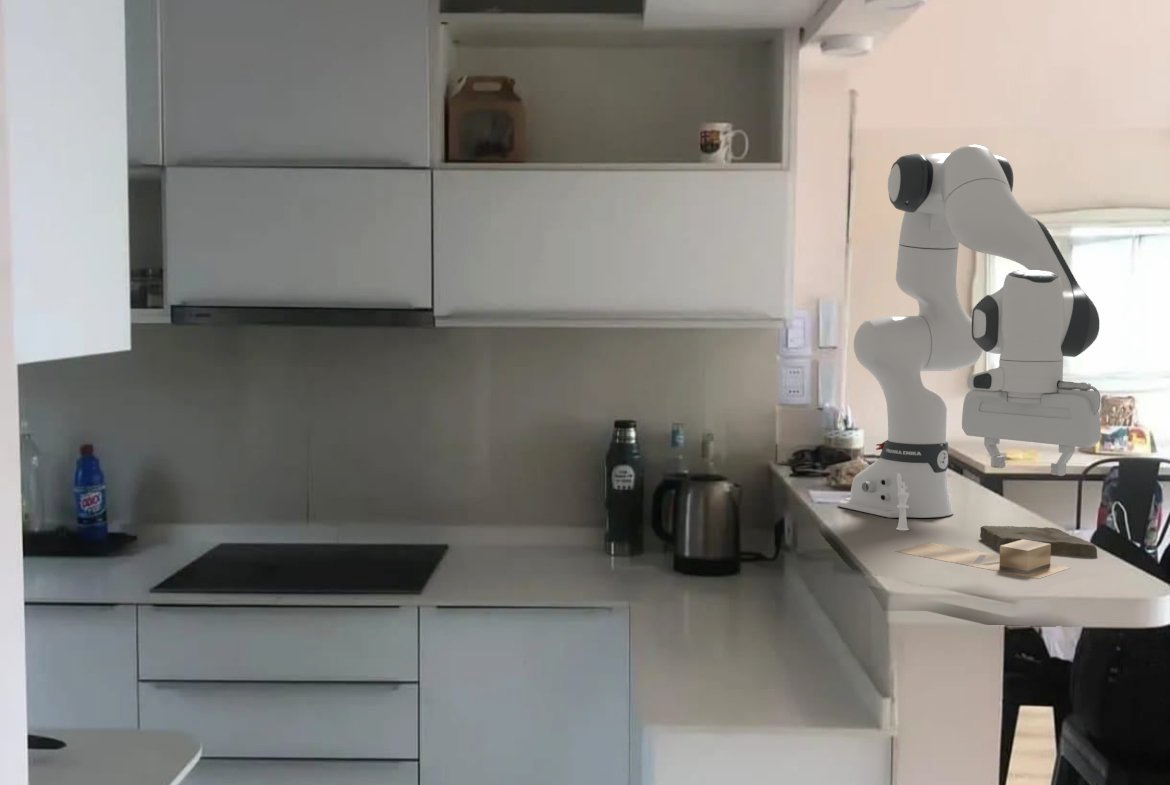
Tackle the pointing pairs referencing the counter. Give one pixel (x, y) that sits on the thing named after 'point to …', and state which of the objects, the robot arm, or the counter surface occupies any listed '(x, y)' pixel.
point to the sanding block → (1025, 556)
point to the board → (972, 559)
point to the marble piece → (1038, 539)
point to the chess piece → (902, 508)
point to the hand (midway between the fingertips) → (1027, 471)
